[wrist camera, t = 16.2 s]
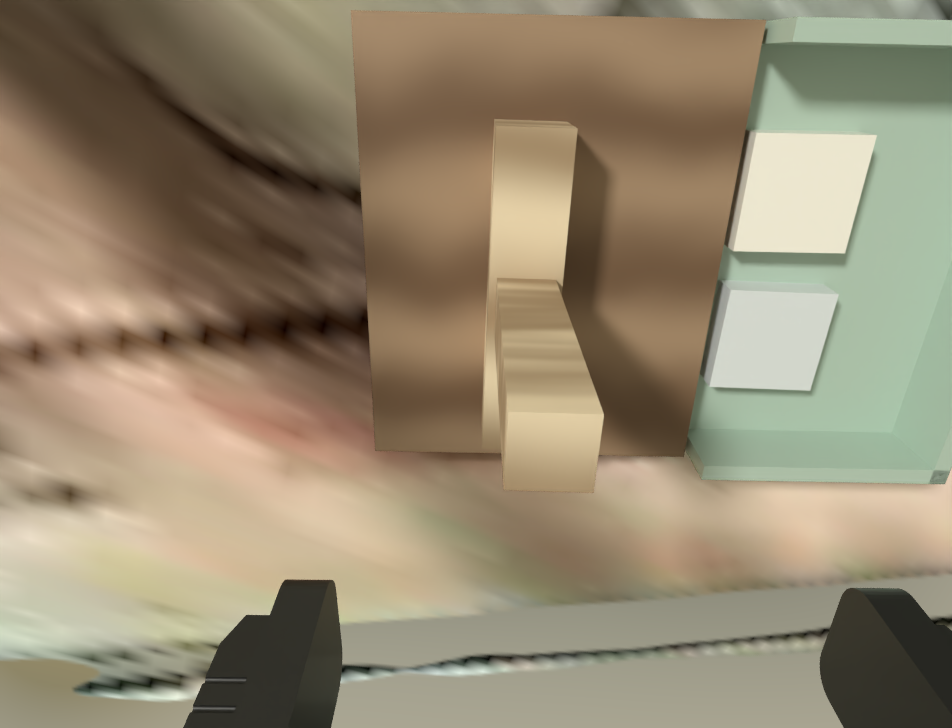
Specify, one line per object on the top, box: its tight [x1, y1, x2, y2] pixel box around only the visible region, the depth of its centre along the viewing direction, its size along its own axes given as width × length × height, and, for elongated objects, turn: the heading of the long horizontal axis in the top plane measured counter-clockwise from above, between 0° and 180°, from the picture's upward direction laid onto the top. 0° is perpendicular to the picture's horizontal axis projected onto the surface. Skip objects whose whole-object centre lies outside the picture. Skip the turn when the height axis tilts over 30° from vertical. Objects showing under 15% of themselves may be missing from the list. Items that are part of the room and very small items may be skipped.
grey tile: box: [700, 280, 839, 391], centre depth 31 cm, size 5×5×2 cm
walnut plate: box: [351, 10, 766, 457], centre depth 30 cm, size 20×16×4 cm
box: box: [685, 17, 952, 484], centre depth 30 cm, size 20×12×6 cm, turn 179°
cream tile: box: [724, 129, 877, 253], centre depth 28 cm, size 5×5×2 cm
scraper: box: [482, 119, 604, 493], centre depth 23 cm, size 14×3×14 cm, turn 178°
